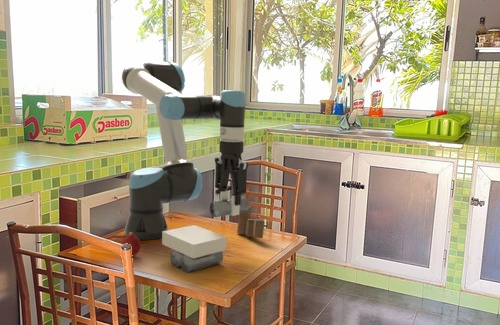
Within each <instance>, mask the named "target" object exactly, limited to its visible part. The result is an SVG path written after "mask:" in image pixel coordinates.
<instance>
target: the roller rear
mask: <svg viewBox="0 0 500 325" xmlns="http://www.w3.org/2000/svg"><path fill="white" fill-rule="evenodd" d="M183 255H185V254H182V253H180V252H178V251H176V250H174V249H173V250H172V251H171V253H170V257H169V258H170V263H171V265H172V266H173V267H175V268H180V267H181V264H180V259H181V257H182V256H183Z"/></svg>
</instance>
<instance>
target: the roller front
mask: <svg viewBox="0 0 500 325" xmlns="http://www.w3.org/2000/svg"><path fill="white" fill-rule="evenodd" d="M223 260H224V254H223V251H220V252H216V253H213V254H209V255H205V256H201V257H197V258H191V257H189V256H187V255H183V256H182V257H181V259H180V264H181V270H182V271H183V272H185V273H190V272H193V271H197V270H200V269H201V270H202V269H205V268H207V267H208V268H209V267H212V266H216V265H219V264H222V262H223Z"/></svg>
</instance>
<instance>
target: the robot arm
mask: <svg viewBox="0 0 500 325" xmlns="http://www.w3.org/2000/svg"><path fill="white" fill-rule="evenodd" d="M121 82H122V84H123V86H124V87H125V88H126V89H127V90H128V91H129V92H131V93H133V94H135V95H140V96H142V97H143V98H145V99H146V100H148V101H149V102H151V103H152V104H154V105H155V107H156V114H157V119H158V125H159V132H160V133H159V134H160V139H161V145H162V151H163V157H164V164H163V165H162V167H155V166H154V167H145V168H140V169H137V170H134V171H133V172H131V174H130V176H129V184H128V187H129V215H128V218H127V221H126V224H125V227H124V236H125V237H126V236H128V235H129V232H132V233H133V234H134V235H135V236H136V237H138V239H139V240H140V241H145V240H147V241H148V240H157V239H162V231H167V230H169V229H168V227H169V226H168V224H167V220H166V218H165V215H164V214H165V213H164V204H170V203H176V202H177V203H179V202H187V201H192V200H195V199H197V198H198V196H200V193H201V191H202V188H203V176H202V173H201V171H200V170H199V169H198V168H195V167H194V162H193V161H192V160H190V159H189V155H188V151H187V144H186V139H185V134H184V126H183V121H182V120H219V122H220V123H219V139H220V141H219V152H220V153H221V155H220V157H214V164H215V172H214V174H215V176H214V177H215V178H214V180H215V181H214V187H215V189H217V190H218V192H219V200H225V199H229V191H228V190H229V188H228V185H229V180H230V175H231V183H232V190H233V193H232V194H231V199H232V209H231V215H230V216H232V217H234V216H239V209H240V204H241V197H242V195H244V194H247V180H248V179H247V174H248V172H247V171H248V167H249V162H245V161H243V158H242V154H243V153H244V147H245V146H244V141H243V140H244V139H245V114H246V97H245V96H246V94H245V92H244V91H243V90H229V89H227V90H226V89H223V90H221V91H220V92H221V93H220V95H214V94H208V95H207V94H206V95H202V94H201V95H200V94H199V95H198V94H194V95H193V94H192V95H191V94H183V93H182V92H183V91H184V88H185V85H186V84H185V83H186V76H185V73H184V71H183V68H182V67H181V66H180V65H179V64H178V63H176V62H171V61H165V60H164V61H159V60H157V61H156V60H146V59H145V60H144V59H143V60H142V59H139V60H138V59H137V60H134V61H132V62H130V63H128V64H127V65H126V66H125V67H124V68H123V70H122V72H121Z"/></svg>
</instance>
